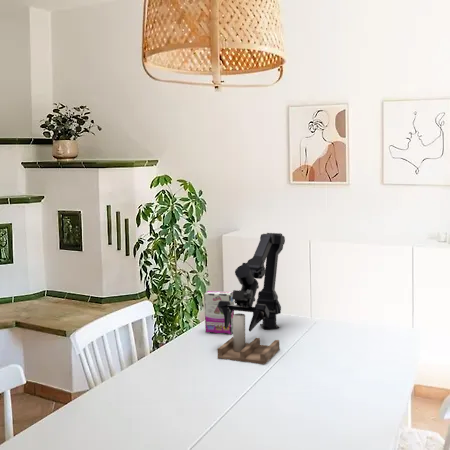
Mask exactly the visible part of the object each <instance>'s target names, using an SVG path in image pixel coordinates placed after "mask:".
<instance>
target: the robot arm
mask: <svg viewBox="0 0 450 450" xmlns="http://www.w3.org/2000/svg"><path fill="white" fill-rule="evenodd" d="M285 237H286V236H284V235H283V233H280V232H279V233H278V232H277V233H275V232H266V233H262V234H260V238H259V239H260V240H259V242H258V245H257V247H256V249H255V251H254V254H253V257H252V258H250V259H248V260H247V261H246V262H242V264H241V265H239V266H238V267H237V268H236V269H235V271H234V275H235V277H236V278H237V280H238V282H239V284H240V285H241V289H240V290H238V289H237V290H235V289H234V290H232V292H233V296H232V299H234V305H231V304H230V302H229V301H222V300H221V301H219V302H218V305H217V307H218V308H219V310H220V312H221V313H222V314H223V315H224V321H225V329H227V327H228V325H229V322H230V319H231V316H232V315H231V313H232V311H233V310H234V312H235V311H236V312H247V313H252V317H251V319H250V323H249V327H248V331H249V332H251V331H252V330H253V329H254V328H255V327H256V326H257V325H258V324H259V323H260V322H262V323H260V325H259V326H260V327H261V328H262V329H263V330H273V329H275V330H276V329H279V328H280V326H279V325H278V324H277V315H279V314H281V311H282V306H281V303H280V302H279V300H278V299H279V296H278V294H277V292H276V282H277V281H276V280H277V270H278V269H277V268H278V261H279V260H278V259H279V255H280V253H281V252H282V251H283V249H284V245H285V243H286V242H285V241H286V238H285ZM263 278H264V280H263V287H262V289H261V290H259V288H260V286H259V282H258V280H257V279H259V280H261V279H263ZM258 290H259V292H258V294H257V291H258ZM256 294H257V299H256V298H255V297H256ZM254 302H256V303H255V305H254ZM235 304H236V305H235ZM253 305H254V306H253Z"/></svg>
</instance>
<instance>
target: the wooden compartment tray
mask: <svg viewBox="0 0 450 450" xmlns="http://www.w3.org/2000/svg"><path fill="white" fill-rule="evenodd" d="M280 347H281V346H280V340H279V339H275V340H273V341H272V342H271V343H270V344H269V345H266V344H265V345H264V344H261V337H255V338H254V339H253V340H251V342H250V343H249V342H245V348H244V349H242V350H241V351H240V352H235V351H234V350H233V336H231V338H230V339H228V340H227V341H226V342H225V343H223V344H222V345H220V346H219V347H218V348H217V359H220V358H222V359H221V360H227V359H230V360H229V361H235V360H236V361H237V362H245V363H252V364H259V365H260V364H261V365H266V364H267V363H268V362H269V361H270V360H271V359H272V358H273V357H274V356H275V355H276V354H277V353H278V352H279V351H280V350H281V349H280Z"/></svg>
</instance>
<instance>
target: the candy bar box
mask: <svg viewBox="0 0 450 450" xmlns="http://www.w3.org/2000/svg"><path fill="white" fill-rule="evenodd" d="M203 295H204V298H203V299H204V319H205V321H204V324H205V326H204V327H205V333H206V332H210V333H209V334H217V333H225V334H224V335H233V315H234V314H235V311H234V310H233V311H232V313H231V315H232V316H231V319H230V322H229V325H228V327H227V329H225V321H224V315H223V314H222V313H221V312H220V310H219V308H218V307H217V305H218V302H219V301H221V300H222V301H229V302H230V304H231V305H235V302H234V301H235V300H234V299H232V296H233V291H218V290H217V291H215V290H211V291H209V290H207V291H206V292H205V293H204V294H203Z"/></svg>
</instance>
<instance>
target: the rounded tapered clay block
mask: <svg viewBox="0 0 450 450" xmlns="http://www.w3.org/2000/svg"><path fill="white" fill-rule="evenodd" d="M232 337H233V350H234V351H235V352H240V351H241V350H242V349H244V348H245V343H246V314H245V313H234V315H233V333H232Z"/></svg>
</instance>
